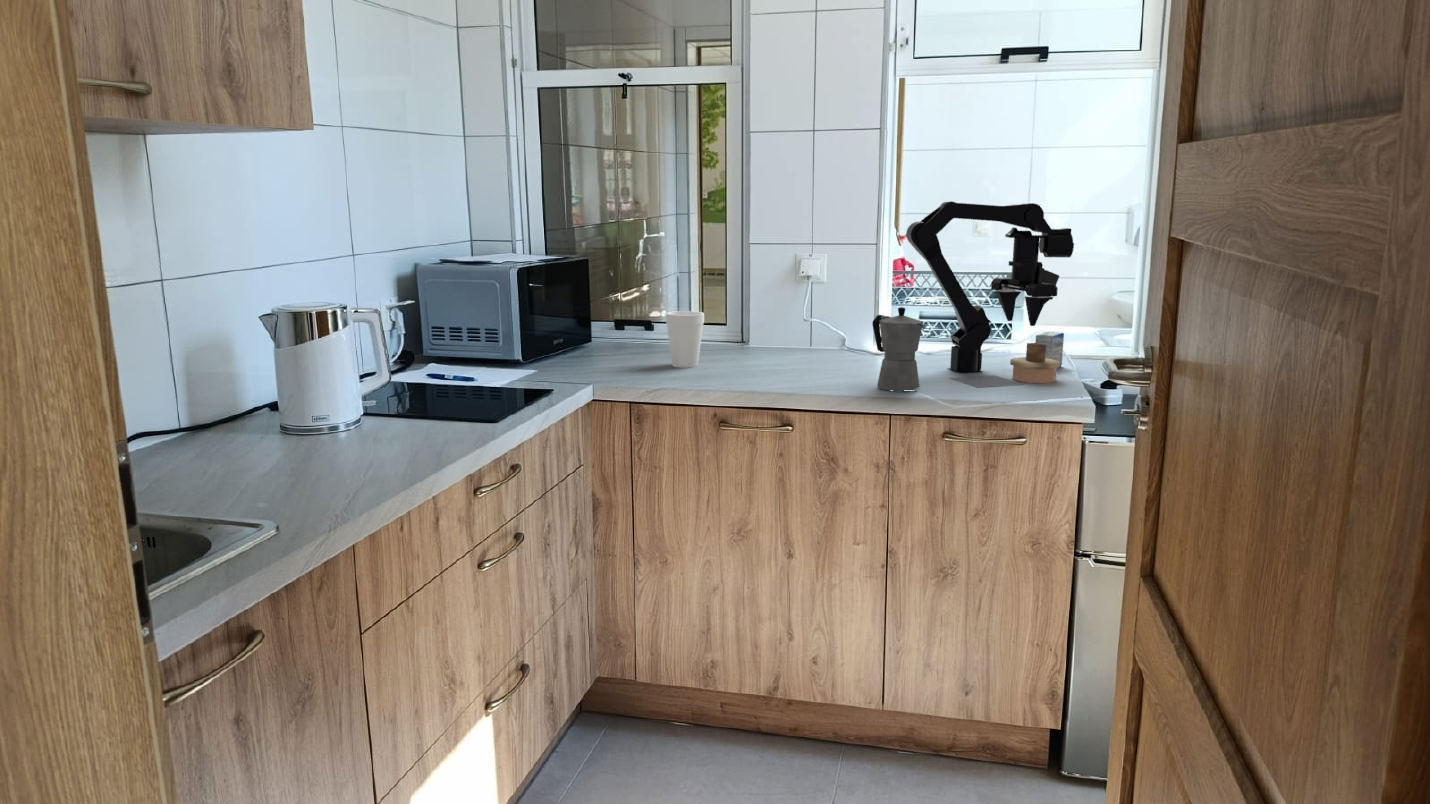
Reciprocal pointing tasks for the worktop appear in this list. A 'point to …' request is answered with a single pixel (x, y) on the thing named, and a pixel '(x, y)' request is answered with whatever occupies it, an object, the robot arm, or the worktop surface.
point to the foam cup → (685, 337)
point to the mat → (986, 381)
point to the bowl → (1034, 375)
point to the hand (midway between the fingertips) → (1020, 323)
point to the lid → (1035, 358)
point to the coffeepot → (898, 350)
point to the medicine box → (1052, 344)
